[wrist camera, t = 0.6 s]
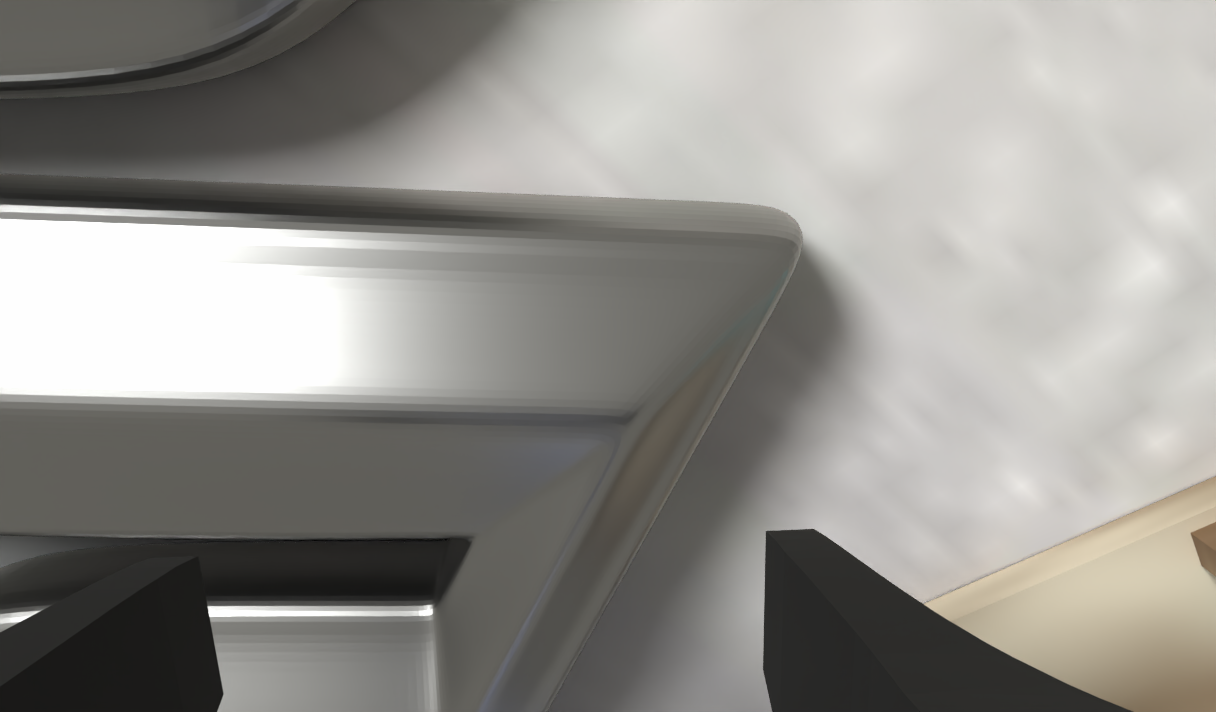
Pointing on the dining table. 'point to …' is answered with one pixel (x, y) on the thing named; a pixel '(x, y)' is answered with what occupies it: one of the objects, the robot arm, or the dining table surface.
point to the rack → (1113, 607)
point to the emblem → (350, 386)
